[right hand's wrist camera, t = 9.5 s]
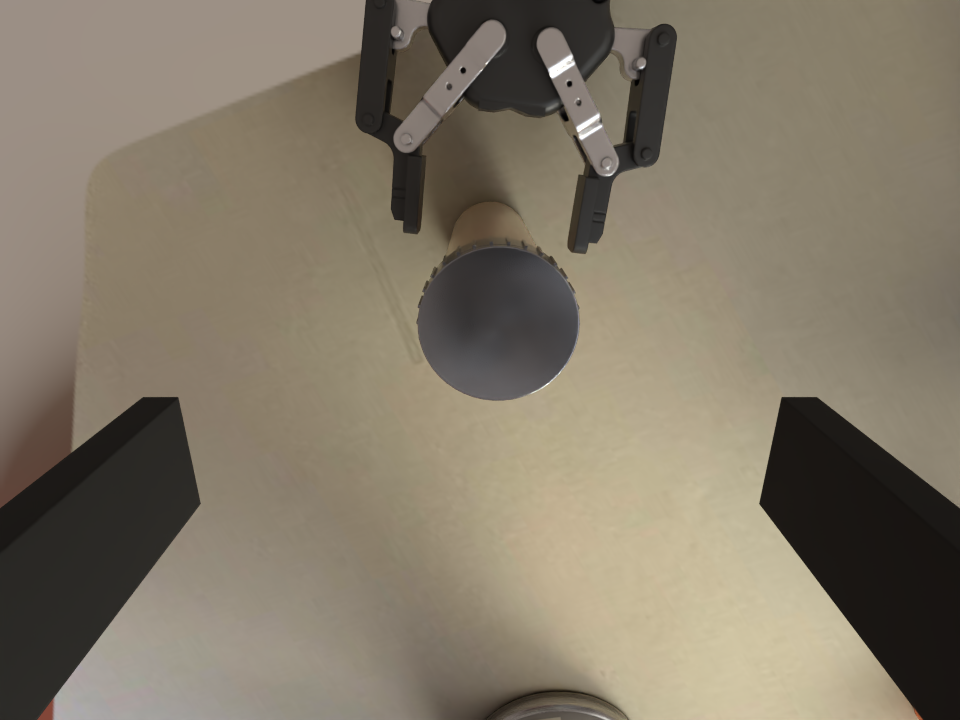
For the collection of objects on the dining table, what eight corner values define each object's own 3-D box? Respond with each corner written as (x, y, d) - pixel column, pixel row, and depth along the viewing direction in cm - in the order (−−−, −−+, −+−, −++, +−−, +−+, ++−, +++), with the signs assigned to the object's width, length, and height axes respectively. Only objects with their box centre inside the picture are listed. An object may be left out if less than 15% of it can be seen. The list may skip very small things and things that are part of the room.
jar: (533, 269, 37) (576, 373, 21) (460, 284, 37) (446, 397, 21) (520, 193, 35) (556, 241, 19) (444, 209, 36) (414, 270, 19)
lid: (583, 367, 22) (592, 386, 20) (439, 394, 22) (435, 415, 21) (561, 220, 20) (569, 227, 18) (404, 252, 20) (397, 262, 19)
